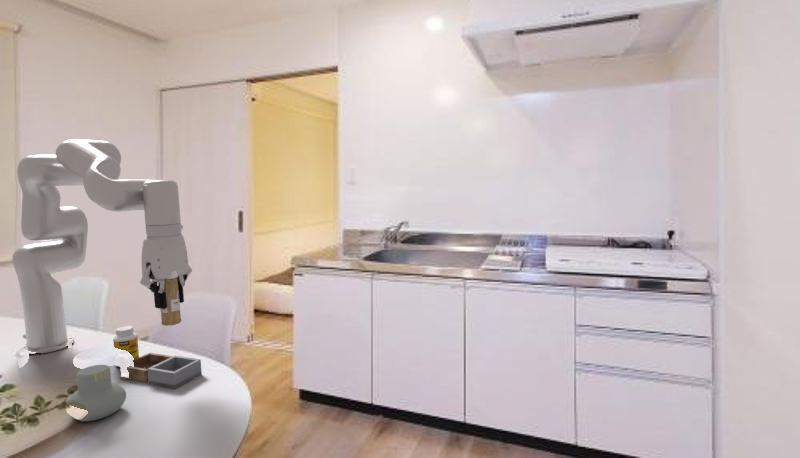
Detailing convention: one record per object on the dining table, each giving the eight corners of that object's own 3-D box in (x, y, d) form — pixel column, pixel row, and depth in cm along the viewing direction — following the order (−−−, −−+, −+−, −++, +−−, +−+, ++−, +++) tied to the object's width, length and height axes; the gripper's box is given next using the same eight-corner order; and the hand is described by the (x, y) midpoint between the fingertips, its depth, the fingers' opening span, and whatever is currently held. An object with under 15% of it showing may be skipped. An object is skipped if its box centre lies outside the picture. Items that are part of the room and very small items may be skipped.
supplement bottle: (118, 370, 117) (114, 333, 116) (113, 364, 121) (110, 328, 120) (142, 364, 121) (138, 328, 120) (136, 358, 125) (133, 323, 124)
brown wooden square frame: (120, 377, 113) (119, 366, 113) (150, 363, 121) (150, 352, 121) (147, 382, 110) (146, 370, 110) (176, 367, 118) (175, 356, 118)
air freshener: (133, 408, 98) (129, 365, 96) (97, 428, 90) (92, 382, 89) (98, 400, 101) (94, 358, 100) (60, 419, 94) (55, 374, 92)
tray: (148, 384, 109) (147, 368, 108) (176, 370, 117) (175, 355, 116) (175, 389, 106) (174, 373, 106) (201, 374, 114) (200, 359, 114)
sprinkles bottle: (182, 324, 109) (178, 270, 107) (162, 327, 107) (157, 272, 105) (180, 319, 113) (176, 267, 111) (160, 322, 110) (155, 269, 109)
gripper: (179, 227, 116) (184, 295, 118) (120, 235, 100) (127, 314, 103) (202, 227, 114) (207, 297, 116) (145, 236, 98) (152, 317, 100)
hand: (169, 304), depth 109 cm, fingers closed on sprinkles bottle, 4 cm apart
